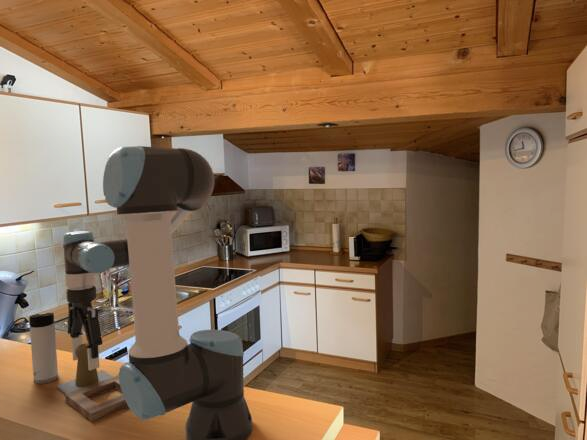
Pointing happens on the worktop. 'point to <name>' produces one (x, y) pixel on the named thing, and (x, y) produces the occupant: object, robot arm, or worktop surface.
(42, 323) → the travel mug
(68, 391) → the grey mat
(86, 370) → the cork
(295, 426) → the worktop surface
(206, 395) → the robot arm
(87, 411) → the walnut holder
